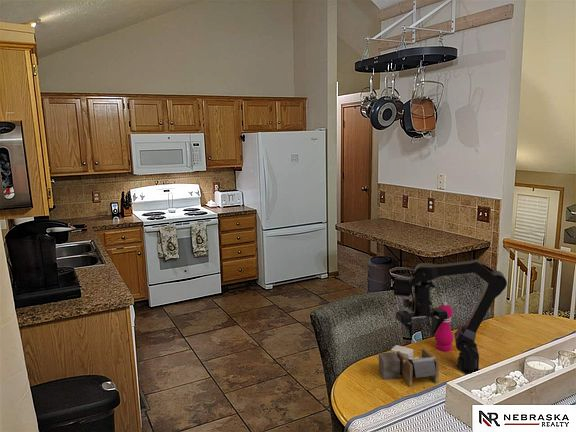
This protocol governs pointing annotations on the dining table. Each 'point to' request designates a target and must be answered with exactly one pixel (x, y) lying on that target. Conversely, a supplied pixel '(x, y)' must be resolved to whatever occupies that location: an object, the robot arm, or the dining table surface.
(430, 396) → the dining table surface
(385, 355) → the stand
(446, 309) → the pepper mill
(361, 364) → the dining table surface
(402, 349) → the off-white block
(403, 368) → the frame
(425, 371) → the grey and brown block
